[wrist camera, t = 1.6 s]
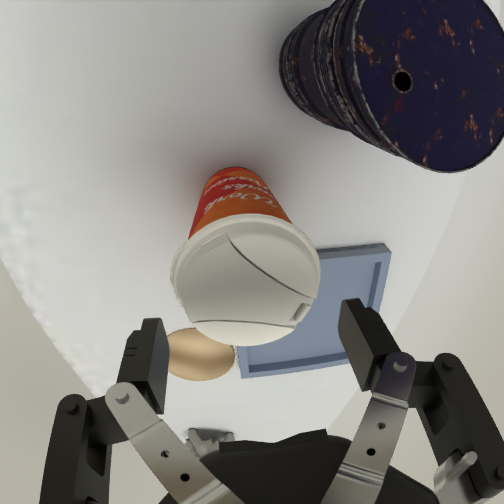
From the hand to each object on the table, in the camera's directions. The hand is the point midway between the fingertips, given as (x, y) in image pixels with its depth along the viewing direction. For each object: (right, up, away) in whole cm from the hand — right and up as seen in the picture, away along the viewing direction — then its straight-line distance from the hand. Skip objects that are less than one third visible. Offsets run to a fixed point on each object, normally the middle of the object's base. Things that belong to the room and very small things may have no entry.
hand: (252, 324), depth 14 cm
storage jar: (+7, +18, +9) cm, 21 cm away
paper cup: (-2, +8, +14) cm, 16 cm away
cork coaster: (-7, -9, +23) cm, 25 cm away
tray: (+6, -4, +21) cm, 22 cm away
